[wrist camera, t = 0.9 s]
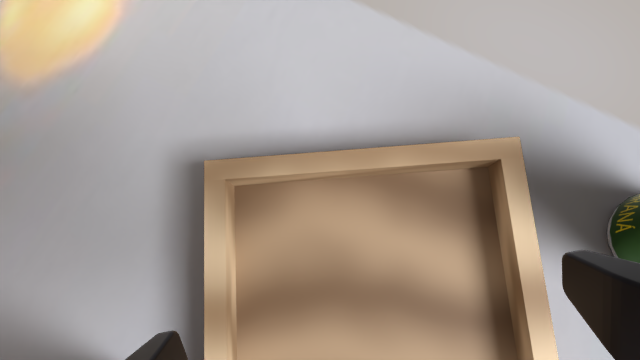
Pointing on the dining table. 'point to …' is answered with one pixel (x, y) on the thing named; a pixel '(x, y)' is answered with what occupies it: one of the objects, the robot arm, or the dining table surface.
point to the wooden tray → (375, 256)
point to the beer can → (625, 230)
